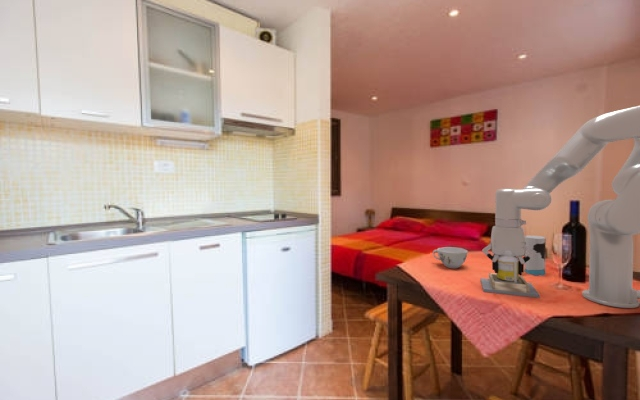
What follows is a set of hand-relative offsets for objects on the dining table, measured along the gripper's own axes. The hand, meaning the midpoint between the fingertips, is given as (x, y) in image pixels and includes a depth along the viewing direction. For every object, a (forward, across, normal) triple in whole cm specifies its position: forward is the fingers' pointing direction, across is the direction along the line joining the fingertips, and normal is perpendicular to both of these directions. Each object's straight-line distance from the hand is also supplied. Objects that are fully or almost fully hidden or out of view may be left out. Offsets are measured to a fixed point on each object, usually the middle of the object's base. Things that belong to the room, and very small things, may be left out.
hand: (507, 272), depth 102 cm
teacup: (+6, +19, -23) cm, 30 cm away
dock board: (+6, 0, 0) cm, 6 cm away
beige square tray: (+6, 0, 0) cm, 6 cm away
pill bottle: (+3, 0, 0) cm, 3 cm away
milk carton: (+6, -13, -23) cm, 27 cm away
